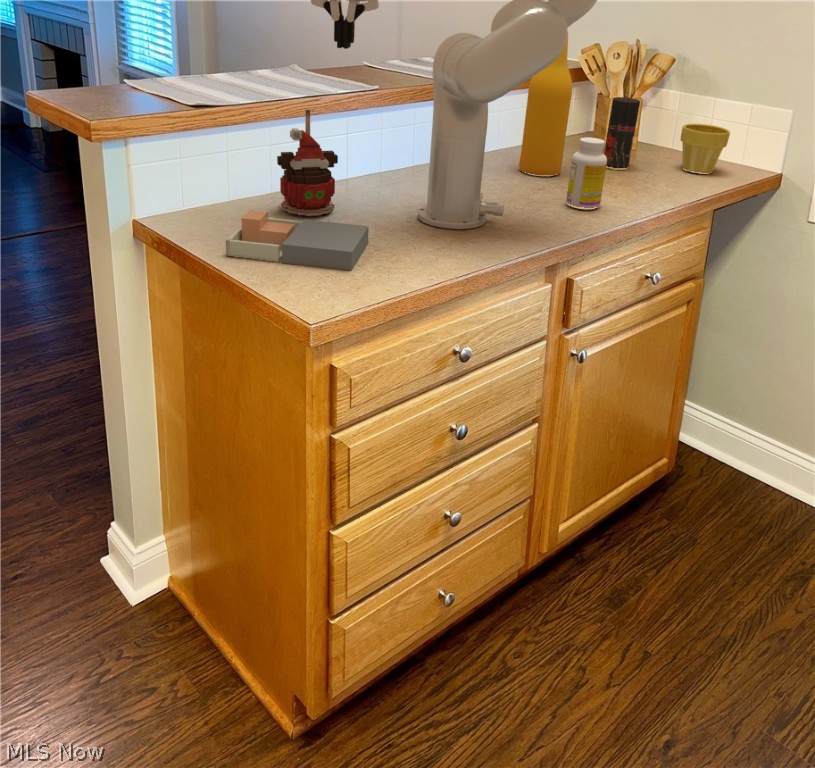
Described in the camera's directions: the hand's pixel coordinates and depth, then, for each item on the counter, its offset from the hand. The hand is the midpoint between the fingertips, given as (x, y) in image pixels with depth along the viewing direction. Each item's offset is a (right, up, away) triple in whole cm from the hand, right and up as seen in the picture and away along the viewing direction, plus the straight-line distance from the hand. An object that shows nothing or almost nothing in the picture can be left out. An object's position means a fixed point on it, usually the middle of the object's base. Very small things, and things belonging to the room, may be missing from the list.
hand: (343, 47), depth 140 cm
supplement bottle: (+45, -19, +31) cm, 58 cm away
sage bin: (-13, -32, +1) cm, 34 cm away
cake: (-8, -23, +18) cm, 30 cm away
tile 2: (-11, -32, 0) cm, 34 cm away
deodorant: (+58, -5, +60) cm, 83 cm away
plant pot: (+77, -5, +61) cm, 99 cm away
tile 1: (-13, -29, 0) cm, 32 cm away
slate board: (-3, -33, 0) cm, 33 cm away
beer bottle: (+39, -8, +52) cm, 66 cm away
